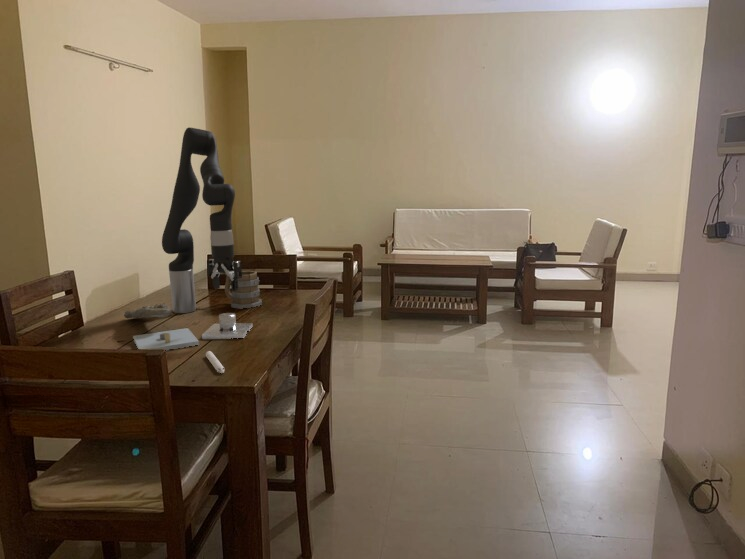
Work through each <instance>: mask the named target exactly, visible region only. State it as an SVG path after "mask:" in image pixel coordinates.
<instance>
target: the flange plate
mask: <svg viewBox="0 0 745 559" xmlns="http://www.w3.org/2000/svg"><path fill="white" fill-rule="evenodd" d="M236 316H237V315H236V313H233V312H226V313H225V312H223V313H219V314H218V323H213V324H212V325H210V327H208V329H206V330H205V331H204V332H203V333H202V334H201V338H202V340H234V339H233V338H237V339H236V340H239V339H238V338H244V339H245V337H246V336H247V335H248V332H247V331H249V332H250V331H251V330H252V329H253V328H252V327H254V326H253V325H254V324H253V322H239V323H238V322H237V320H236ZM251 328H252V329H251ZM250 329H251V330H250ZM246 334H247V335H246ZM231 338H232V339H231Z"/></svg>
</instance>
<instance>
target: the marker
mask: <svg viewBox="0 0 745 559" xmlns="http://www.w3.org/2000/svg"><path fill="white" fill-rule="evenodd" d="M205 357H206V358H207V359H208V360H209V363H211V365H212V366H213V368H214V369H215V371H216V372H217V373H218V374H220V373H221V374H224V373H225V367H224V365H222V363H221V362H220V360H219V359H218V358H217V356H216V355H215V354H214V353H213V351H210V350H208V351H206V352H205Z"/></svg>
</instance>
